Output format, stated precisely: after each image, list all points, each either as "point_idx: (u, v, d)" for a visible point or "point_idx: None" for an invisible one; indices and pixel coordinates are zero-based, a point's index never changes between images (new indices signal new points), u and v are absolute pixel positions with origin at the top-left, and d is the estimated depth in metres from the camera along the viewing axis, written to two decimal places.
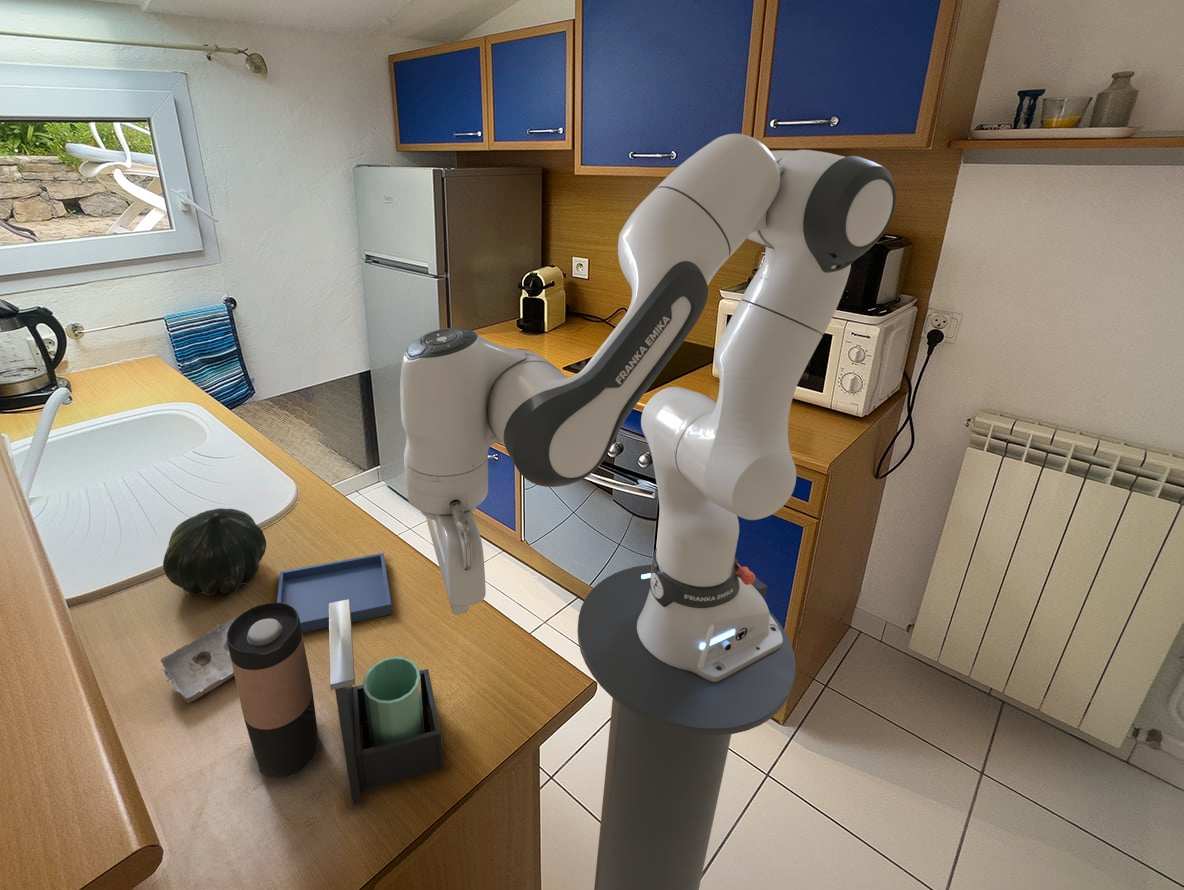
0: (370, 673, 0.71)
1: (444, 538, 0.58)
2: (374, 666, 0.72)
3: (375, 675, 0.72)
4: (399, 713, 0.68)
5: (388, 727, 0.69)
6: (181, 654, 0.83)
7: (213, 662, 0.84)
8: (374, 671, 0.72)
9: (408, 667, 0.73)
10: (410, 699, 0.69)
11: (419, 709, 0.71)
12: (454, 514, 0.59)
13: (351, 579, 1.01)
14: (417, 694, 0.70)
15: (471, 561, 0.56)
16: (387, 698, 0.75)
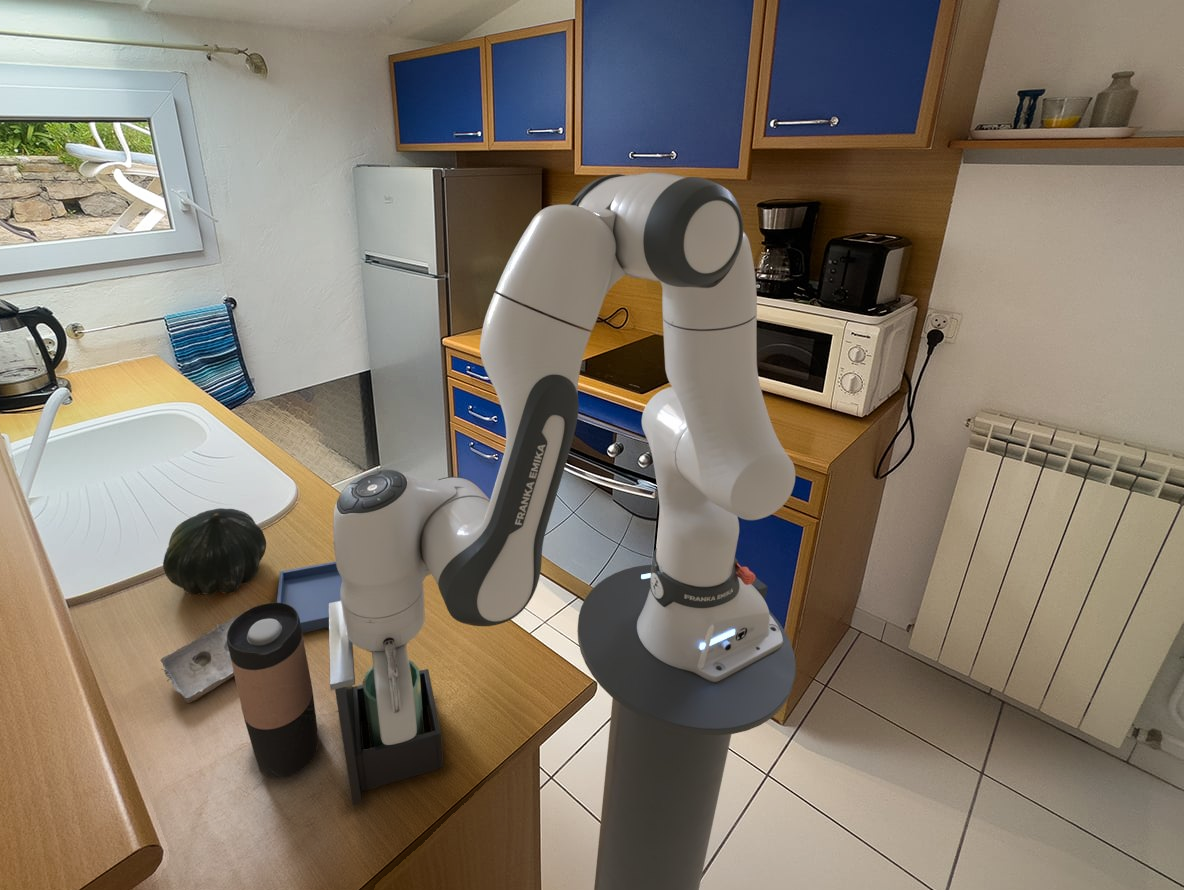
0: (370, 673, 0.71)
1: (375, 680, 0.60)
2: None
3: None
4: None
5: None
6: (181, 654, 0.83)
7: (213, 662, 0.84)
8: None
9: None
10: None
11: (419, 709, 0.71)
12: (385, 655, 0.61)
13: None
14: (417, 694, 0.70)
15: (399, 706, 0.58)
16: None
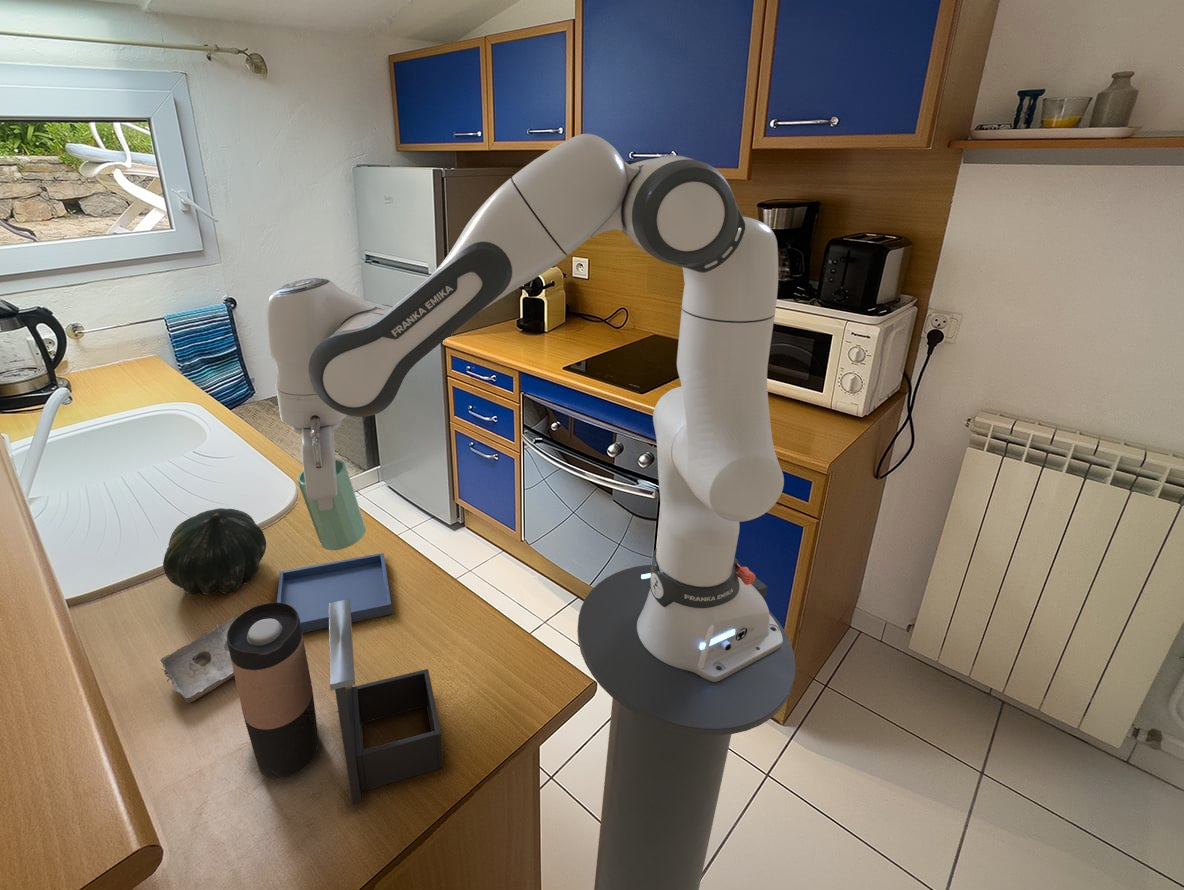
0: None
1: None
2: None
3: None
4: None
5: None
6: (181, 654, 0.83)
7: (213, 662, 0.84)
8: None
9: (338, 466, 0.85)
10: None
11: (350, 495, 0.83)
12: (311, 425, 0.73)
13: (351, 579, 1.01)
14: (344, 479, 0.82)
15: (320, 460, 0.71)
16: None
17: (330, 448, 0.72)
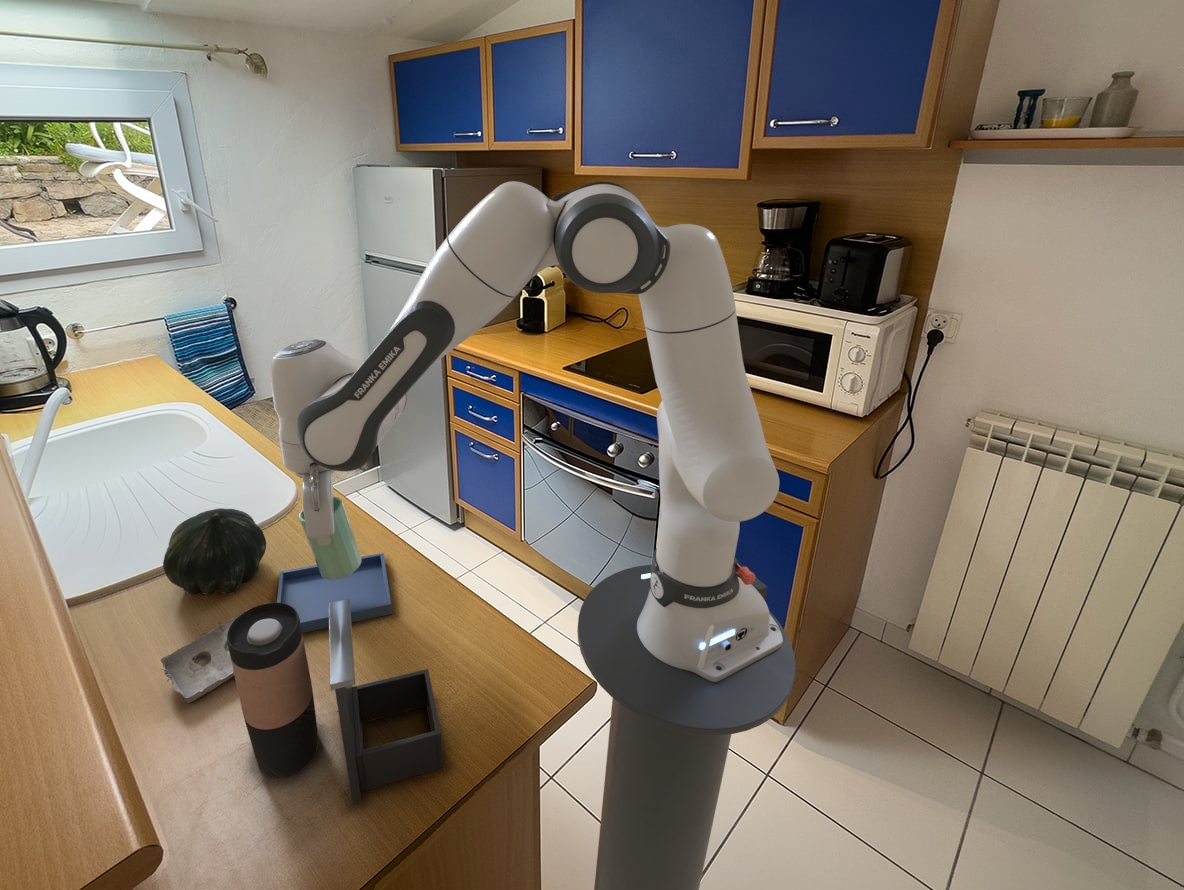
0: None
1: (302, 489, 0.81)
2: None
3: None
4: None
5: None
6: (181, 654, 0.83)
7: (213, 662, 0.84)
8: None
9: (336, 503, 0.94)
10: (334, 519, 0.90)
11: (346, 530, 0.92)
12: (310, 472, 0.82)
13: (351, 579, 1.01)
14: (341, 516, 0.91)
15: (318, 504, 0.80)
16: None
17: (327, 493, 0.81)
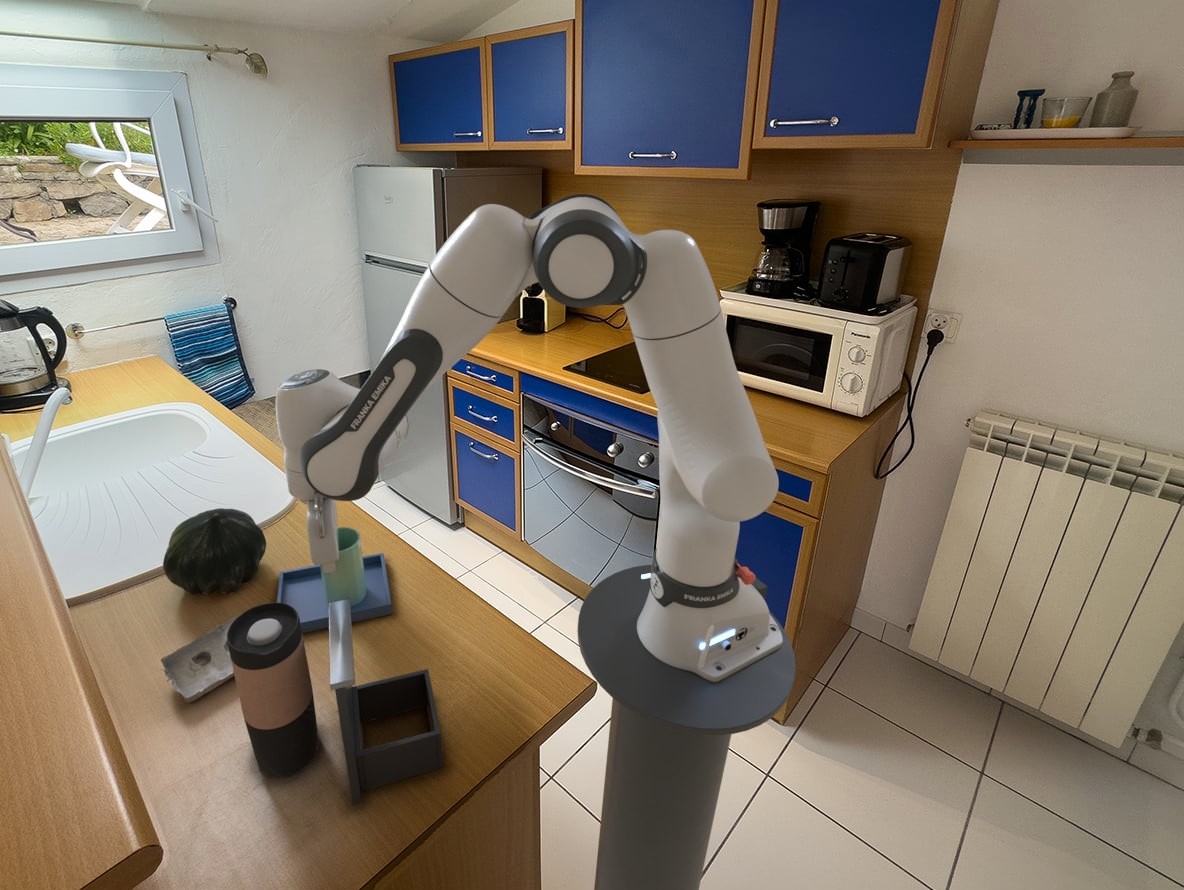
0: None
1: None
2: None
3: None
4: (343, 562, 0.92)
5: (335, 573, 0.92)
6: (181, 654, 0.83)
7: (213, 662, 0.84)
8: None
9: (352, 534, 0.96)
10: (352, 552, 0.92)
11: (360, 563, 0.94)
12: (314, 499, 0.84)
13: None
14: (357, 550, 0.93)
15: (323, 531, 0.81)
16: None
17: (331, 520, 0.83)
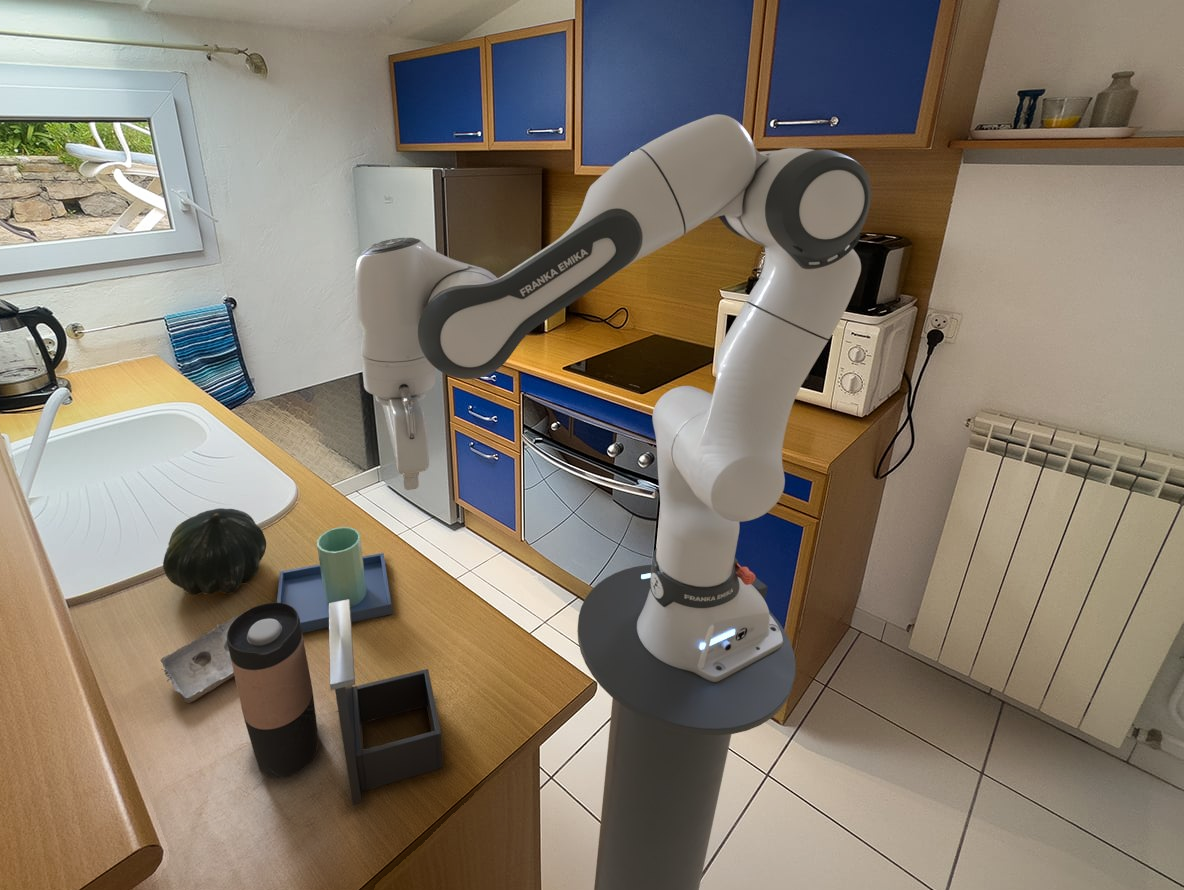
0: (323, 536, 0.94)
1: (393, 413, 0.68)
2: (326, 532, 0.95)
3: (327, 539, 0.96)
4: (343, 562, 0.92)
5: (335, 573, 0.92)
6: (181, 654, 0.83)
7: (213, 662, 0.84)
8: (326, 536, 0.95)
9: (352, 534, 0.96)
10: (352, 552, 0.92)
11: (360, 563, 0.94)
12: (401, 394, 0.69)
13: None
14: (357, 550, 0.93)
15: (414, 429, 0.67)
16: None
17: (423, 418, 0.68)
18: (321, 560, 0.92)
